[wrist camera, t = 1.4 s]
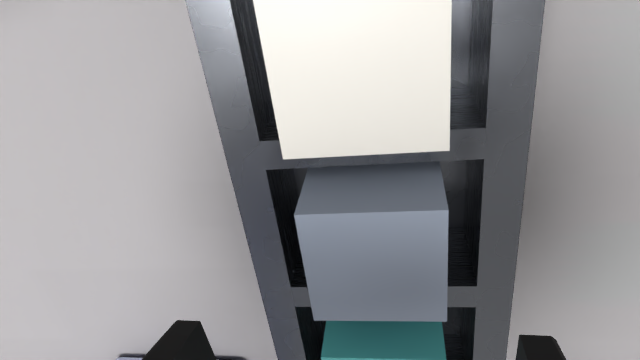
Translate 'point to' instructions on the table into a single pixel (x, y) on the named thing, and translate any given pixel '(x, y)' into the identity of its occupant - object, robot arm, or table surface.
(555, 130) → the table surface
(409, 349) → the teal block
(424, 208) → the slate key
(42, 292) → the table surface
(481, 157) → the grey compartment tray
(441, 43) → the ivory key
